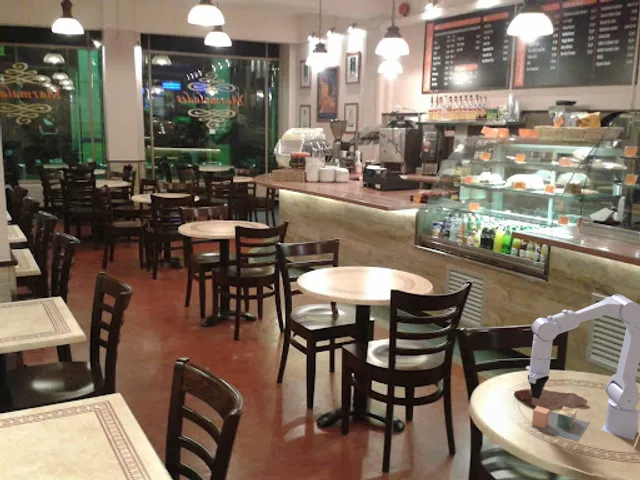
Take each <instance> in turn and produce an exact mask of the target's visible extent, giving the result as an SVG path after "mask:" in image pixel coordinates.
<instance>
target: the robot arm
mask: <svg viewBox="0 0 640 480" xmlns="http://www.w3.org/2000/svg"><path fill="white" fill-rule="evenodd" d="M603 316H608V317H611V318H615V319H620V320H621V321H622V323H623V324H624V325H625V327H626V329H625V334H624V338H623V343H622V346H621V350H620V355H619V359H618V364H617V368H616V372H615V374H612V375H611V377H610V380H609V381H608V383H607V384H606V387H605V393H606V395H607V396H608V398H607V407H606V413H605V414H606V415H605V422H604V424H603V426H602V427H601V428H600V429H601V431H602V432H605V433H608V434H612V435H615V436H618V437H622V438H625V439H628V440H632V441H633V440H635V438H636V436H637V434H638V431H639V423H640V410H639V409H638V408H636V407H637V406H638V404H639V402H640V398H639V395H638V394H639V387H638V384H637V381H636V376H637V372H638V368H639V364H640V304H639V303H637V302H635V301H633V300H631V299H629V298H627V297H626V296H625V295H623V294H617V293H616V294H614V295H612V296H607V297H605V298H604V299H603V300H600V301H599V302H597V303H594V304H591V305H589V306H586V307H583V308H581V309H579V310H576V311H574V310H572V309H571V310H570V309H569V310H567V309H562V310H561V312H560V313H557V314H554V315H547V317H539V318H537V319H535V320H534V321H533V323H532V324H531V325H530V328H531V330H532V333H533V338H532V339H533V340H532V347H531V355H530V363H529V365H527V366H526V367H525V370H526V371H528V375H527V380H528V383H529V385H530V389H531V393H532V397H533V398H536V399H539V398H540V396H541V394H542V391H543V389H544V388H545V385H546V384H547V382H548V381H549V379H550V376H549V375H550V365H551V356H552V350H553V343H554V341H553V340H555V339H556V338H557V336H558V335H559V334H562V333H563V334H564V333H565V332H568V331H571V330H574V329H576V328H578V327H579V325H580V323H582V322H585V321H590V320H593V319H597V318H600V317H603Z"/></svg>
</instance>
